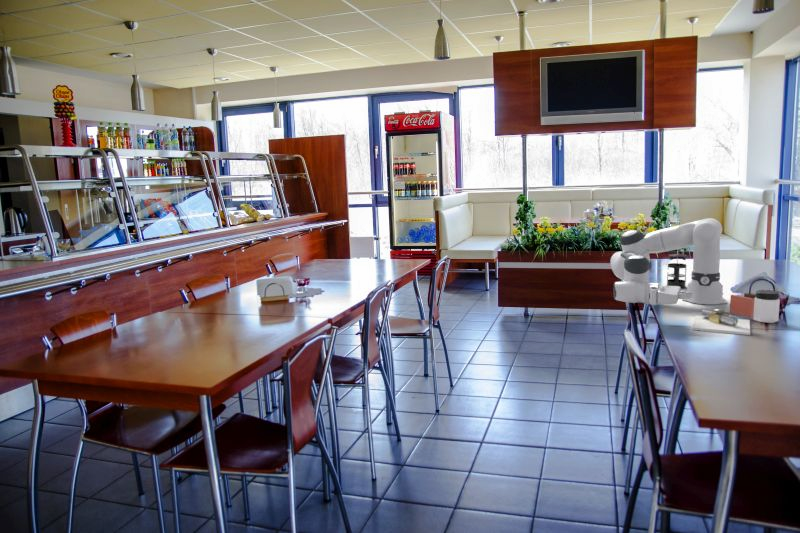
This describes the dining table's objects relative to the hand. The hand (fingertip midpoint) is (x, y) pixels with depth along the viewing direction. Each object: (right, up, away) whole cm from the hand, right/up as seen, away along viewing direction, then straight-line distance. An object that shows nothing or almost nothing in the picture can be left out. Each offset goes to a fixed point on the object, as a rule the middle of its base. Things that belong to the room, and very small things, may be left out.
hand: (691, 295), depth 249 cm
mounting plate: (+12, -12, +1) cm, 17 cm away
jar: (+35, -11, +9) cm, 37 cm away
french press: (+31, +1, +85) cm, 90 cm away
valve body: (+13, -12, +4) cm, 18 cm away
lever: (+16, -8, -2) cm, 17 cm away
